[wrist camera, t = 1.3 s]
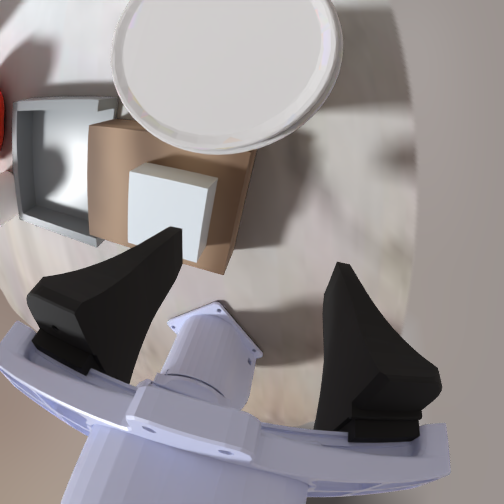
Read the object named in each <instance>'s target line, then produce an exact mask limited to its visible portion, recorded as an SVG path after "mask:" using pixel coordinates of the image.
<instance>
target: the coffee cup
mask: <svg viewBox="0 0 504 504" xmlns="http://www.w3.org/2000/svg"><path fill="white" fill-rule="evenodd" d="M342 57H343V34H342V28H341V24H340V20H339V17H338V14H337V12H336V10H335V8H334V5H333V4H332V2H331V0H130V1H129V3H128V4H127V6H126V8H125V9H124V11H123V13H122V14H121V16H120V19H119V21H118V24H117V26H116V29H115V32H114V35H113V40H112V46H111V71H112V76H113V81H114V84H115V87H116V90H117V93H118V95H119V97H120V99H121V101H122V103H123V104H124V106H125V107H126V109H127V110H128V112H129V113H130V114H131V115H132V117H133V118H134V119H135V120H136V121H137V122H138V123H139V124H141V125H142V126H143V127H144V128H145V129H146V130H147V131H148V132H150V133H151V134H152V135H154V136H155V137H157V138H159V139H160V140H162V141H163V142H166V143H168V144H170V145H172V146H174V147H177V148H180V149H183V150H187V151H191V152H195V153H202V154H213V155H223V154H235V153H242V152H247V151H251V150H255V149H258V148H261V147H264V146H267V145H270V144H272V143H274V142H276V141H278V140H280V139H282V138H284V137H286V136H287V135H289V134H291V133H292V132H294V131H295V130H297V129H298V128H299V127H301V126H302V125H303V124H305V123H306V122H307V121H308V120H309V119H310V118H311V117H312V116H313V115H314V114H315V113H316V112H317V111H318V110H319V108H320V107H321V106H322V105H323V103H324V102H325V101H326V99H327V98H328V96H329V94H330V93H331V91H332V89H333V87H334V85H335V83H336V80H337V77H338V75H339V71H340V68H341V64H342Z"/></svg>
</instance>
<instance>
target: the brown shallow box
mask: <svg viewBox="0 0 504 504" xmlns="http://www.w3.org/2000/svg"><path fill="white" fill-rule="evenodd" d="M256 152H257V149H255V150H251V151H247V152H242V153H235V154H223V155H213V154H202V153H195V152H191V151H187V150H183V149H180V148H177V147H174V146H172V145H170V144H168V143H166V142H163V141H162V140H160V139H159V138H157V137H155V136H154V135H152V134H151V133H150V132H148V131H147V130H146V129H145V128H144V127H143V126H142V125H141V124H139V123H138V122H137V121H135V120H126V119H112V120H108V121H104V122H100V123H96V124H92V125H89V131H88V151H87V198H88V219H89V233H90V235H92V236H95V237H99V238H102V239H105V240H108V241H111V242H114V243H117V244H121V245H124V246H127V247H130V248H133V247H135V246H136V245H135V244H131V243H128V191H129V172H130V171H131V170H133V169H135V168H137V167H139V166H140V165H142V164H144V163H146V162H147V163H152V164H157V165H162V166H167V167H172V168H177V169H181V170H186V171H190V172H195V173H199V174H204V175H208V176H212V177H216V178H218V181H217V187H216V192H215V197H214V203H213V208H212V214H211V220H210V226H209V232H208V238H207V244H206V247H205V249H204V251H203V252H202V254H201V256H200V258H199V259H198V261H197V263H195V262H192V261H188V260H185V259H183V264H186V265H190V266H193V267H197V268H200V269H204V270H207V271H211V272H214V273H218V274H221V275H224V273H225V270H226V268H227V265H228V263H229V260H230V258H231V255H232V253H233V250H234V246H235V242H236V237H237V233H238V229H239V224H240V220H241V216H242V211H243V207H244V203H245V198H246V194H247V190H248V186H249V181H250V177H251V173H252V169H253V165H254V160H255V156H256Z"/></svg>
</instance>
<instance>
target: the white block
mask: <svg viewBox="0 0 504 504" xmlns="http://www.w3.org/2000/svg"><path fill="white" fill-rule="evenodd" d="M217 181H218V178H216V177H212V176H208V175H204V174H199V173H195V172H190V171H186V170H181V169H177V168H172V167H167V166H162V165H157V164H152V163H147V162H146V163H144V164H142V165H140V166H139V167H137V168H135V169H133V170H131V171H130V172H129V191H128V243H131V244H135V245H138V244H140V243H142V242H144V241H145V240H147V239H149V238H150V237H152V236H154V235H156V234H157V233H159V232H161V231H162V230H164V229H166V228H168V227H170V226H172V227H177V228H182V250H183V259H185V260H188V261H192V262H195V263H197V261H198V259H199V258H200V256H201V254H202V252H203V251H204V249H205V247H206V244H207V238H208V232H209V226H210V220H211V214H212V208H213V203H214V197H215V192H216V187H217Z"/></svg>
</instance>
